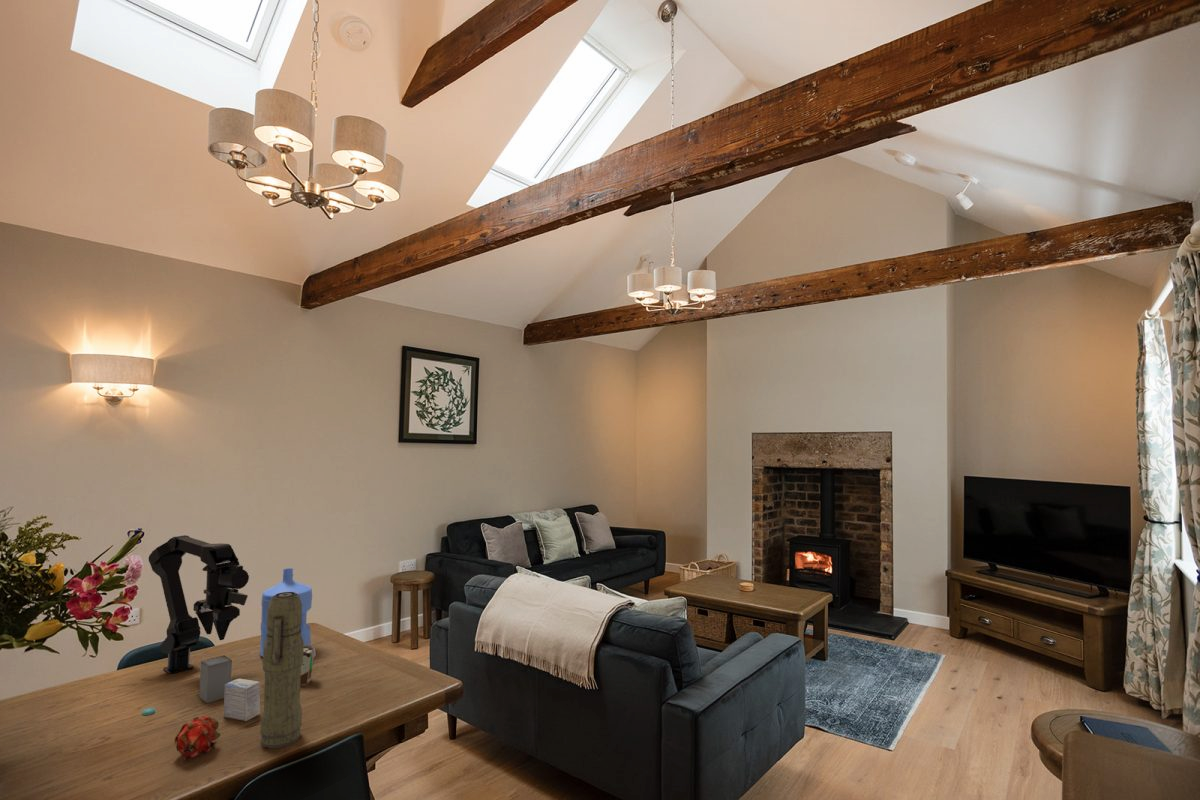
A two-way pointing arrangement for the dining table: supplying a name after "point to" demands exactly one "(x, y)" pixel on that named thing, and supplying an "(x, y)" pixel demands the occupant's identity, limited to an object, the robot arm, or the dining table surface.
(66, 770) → the dining table surface
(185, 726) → the dragon fruit
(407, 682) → the dining table surface
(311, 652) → the food container
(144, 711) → the teal rounded object
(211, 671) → the grey bordered box
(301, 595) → the water jug
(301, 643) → the thermos
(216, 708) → the dining table surface
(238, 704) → the medicine box
